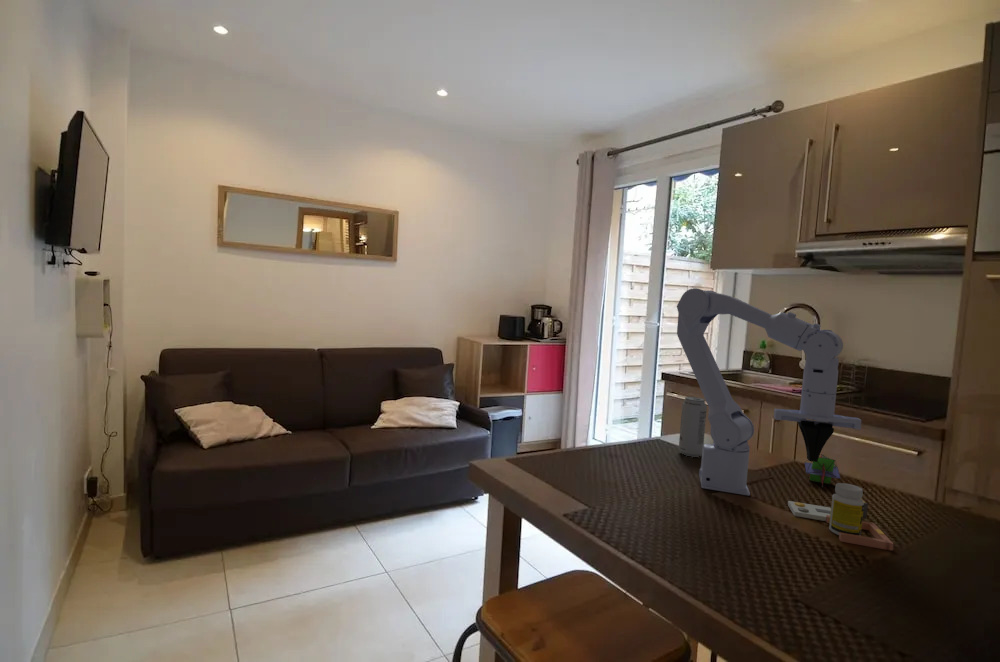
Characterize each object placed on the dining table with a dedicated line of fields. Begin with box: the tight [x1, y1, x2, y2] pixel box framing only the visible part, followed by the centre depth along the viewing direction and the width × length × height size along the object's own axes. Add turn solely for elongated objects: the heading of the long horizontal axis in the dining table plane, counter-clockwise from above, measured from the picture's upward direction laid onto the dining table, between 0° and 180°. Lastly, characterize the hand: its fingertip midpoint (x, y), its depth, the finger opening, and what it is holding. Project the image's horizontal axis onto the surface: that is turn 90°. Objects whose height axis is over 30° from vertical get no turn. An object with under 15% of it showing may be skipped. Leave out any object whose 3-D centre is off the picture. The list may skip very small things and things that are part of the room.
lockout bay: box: [825, 515, 894, 552], centre depth 91 cm, size 8×9×1 cm
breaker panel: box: [787, 500, 864, 522], centre depth 99 cm, size 12×6×1 cm, turn 71°
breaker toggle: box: [860, 497, 869, 520], centre depth 97 cm, size 3×3×3 cm
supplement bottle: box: [828, 482, 864, 536], centre depth 91 cm, size 5×5×8 cm
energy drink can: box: [678, 396, 708, 458], centre depth 135 cm, size 6×6×15 cm
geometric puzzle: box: [804, 453, 842, 488], centre depth 118 cm, size 7×7×8 cm
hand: (812, 460), depth 101 cm, fingers closed
